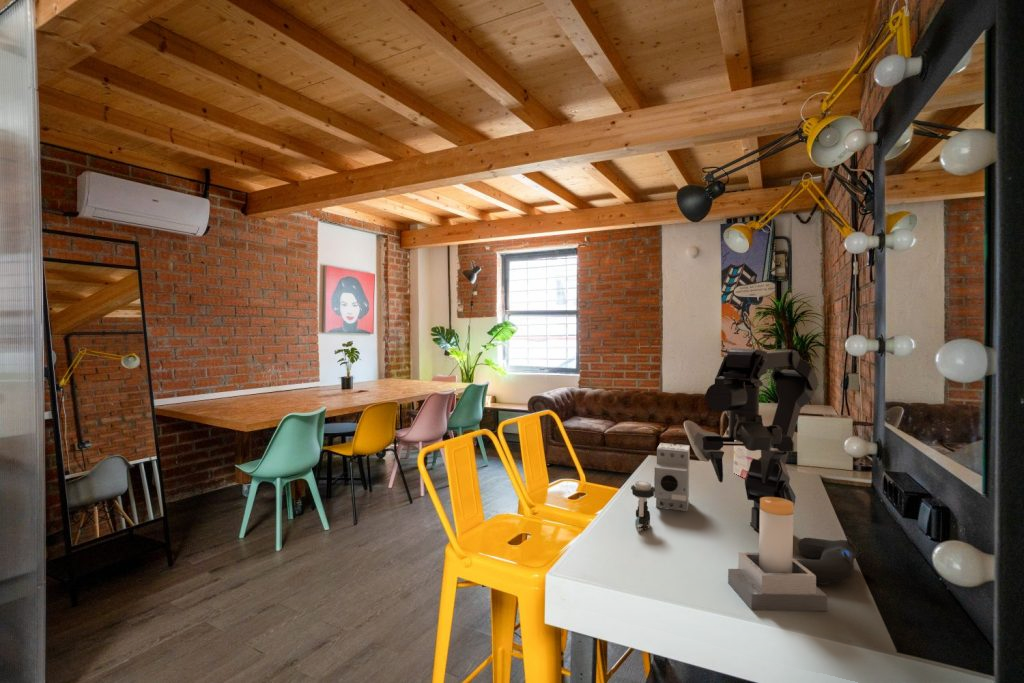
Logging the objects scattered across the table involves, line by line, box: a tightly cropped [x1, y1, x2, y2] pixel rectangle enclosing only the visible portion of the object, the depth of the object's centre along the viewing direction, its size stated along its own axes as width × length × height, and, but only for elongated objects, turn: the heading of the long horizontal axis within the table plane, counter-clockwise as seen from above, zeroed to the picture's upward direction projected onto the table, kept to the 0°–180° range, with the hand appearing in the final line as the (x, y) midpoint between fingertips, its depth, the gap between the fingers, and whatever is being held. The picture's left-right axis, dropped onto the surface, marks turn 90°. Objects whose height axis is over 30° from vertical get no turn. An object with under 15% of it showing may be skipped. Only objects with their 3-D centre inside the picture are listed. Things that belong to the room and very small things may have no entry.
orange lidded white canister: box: [758, 497, 794, 573], centre depth 86 cm, size 5×5×14 cm
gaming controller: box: [796, 535, 858, 584], centre depth 96 cm, size 17×6×10 cm
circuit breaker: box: [653, 442, 691, 512], centre depth 130 cm, size 8×14×15 cm, turn 158°
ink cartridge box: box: [732, 440, 761, 479], centre depth 161 cm, size 9×5×15 cm, turn 5°
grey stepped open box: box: [727, 552, 828, 612], centre depth 86 cm, size 12×9×6 cm
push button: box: [630, 480, 655, 532], centre depth 117 cm, size 7×5×10 cm
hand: (742, 482), depth 108 cm, fingers open, 9 cm apart
